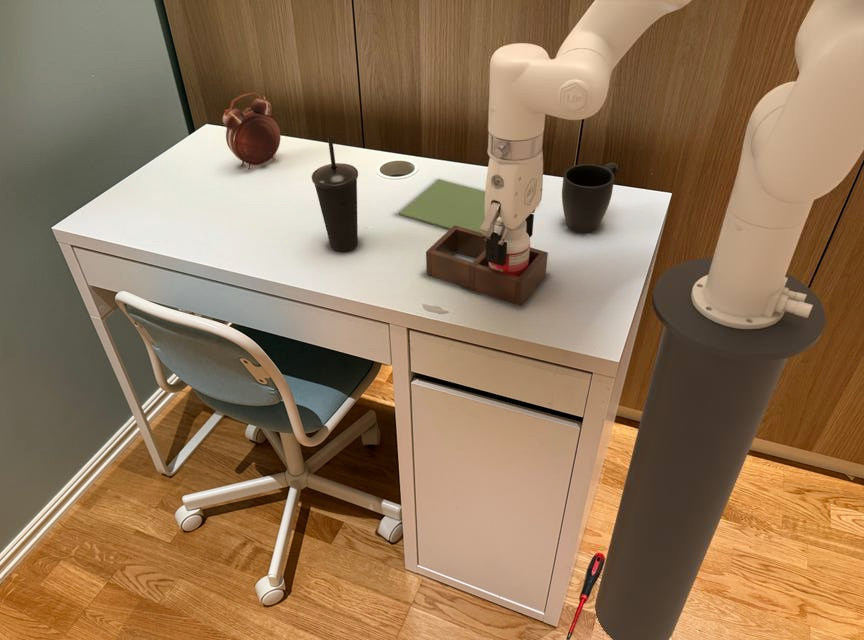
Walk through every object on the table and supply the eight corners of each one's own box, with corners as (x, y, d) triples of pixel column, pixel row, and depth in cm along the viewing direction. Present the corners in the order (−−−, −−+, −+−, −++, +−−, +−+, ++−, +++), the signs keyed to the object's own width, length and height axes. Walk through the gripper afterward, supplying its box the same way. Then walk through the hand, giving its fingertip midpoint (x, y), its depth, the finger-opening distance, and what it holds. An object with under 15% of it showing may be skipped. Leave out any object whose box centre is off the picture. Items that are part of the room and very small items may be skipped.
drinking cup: (349, 228, 129) (336, 122, 116) (374, 245, 125) (363, 137, 111) (314, 244, 126) (296, 137, 113) (338, 262, 122) (322, 153, 108)
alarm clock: (275, 152, 155) (262, 83, 144) (286, 159, 151) (273, 89, 141) (230, 168, 150) (213, 98, 140) (240, 176, 147) (224, 105, 137)
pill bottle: (482, 275, 116) (484, 216, 108) (518, 267, 117) (522, 208, 109) (496, 297, 111) (498, 237, 104) (533, 289, 112) (538, 228, 105)
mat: (532, 205, 131) (532, 203, 130) (495, 243, 122) (495, 241, 122) (438, 181, 140) (438, 179, 139) (399, 214, 132) (399, 212, 131)
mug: (629, 215, 126) (638, 166, 119) (586, 243, 120) (594, 193, 114) (591, 199, 131) (597, 151, 124) (548, 225, 125) (553, 176, 119)
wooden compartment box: (545, 275, 114) (548, 252, 111) (520, 305, 109) (521, 282, 106) (454, 247, 122) (454, 224, 119) (426, 274, 117) (425, 251, 114)
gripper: (510, 175, 91) (504, 285, 103) (567, 122, 101) (556, 228, 113) (459, 162, 95) (459, 270, 106) (519, 112, 105) (513, 216, 116)
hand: (509, 248), depth 110 cm, fingers open, 8 cm apart
